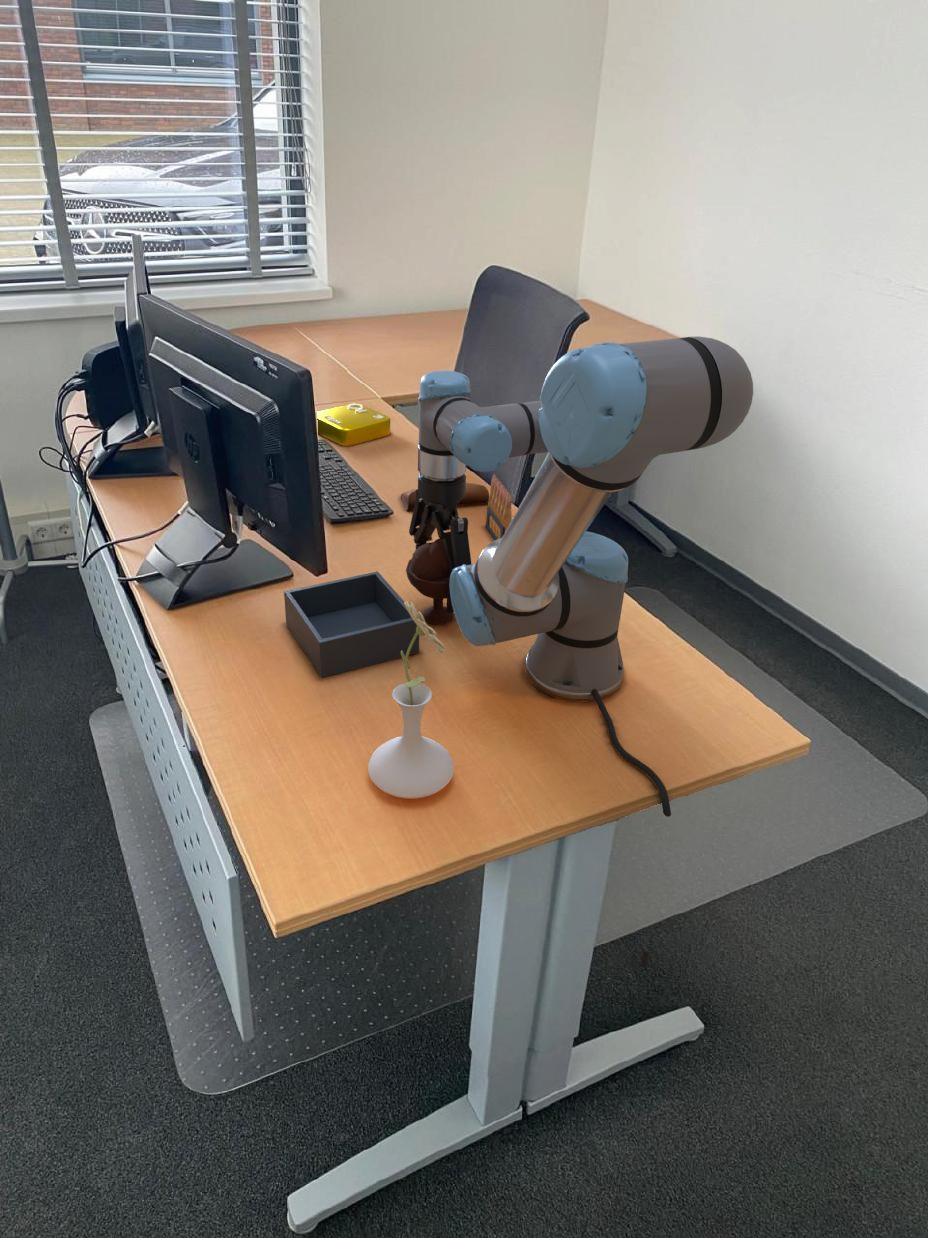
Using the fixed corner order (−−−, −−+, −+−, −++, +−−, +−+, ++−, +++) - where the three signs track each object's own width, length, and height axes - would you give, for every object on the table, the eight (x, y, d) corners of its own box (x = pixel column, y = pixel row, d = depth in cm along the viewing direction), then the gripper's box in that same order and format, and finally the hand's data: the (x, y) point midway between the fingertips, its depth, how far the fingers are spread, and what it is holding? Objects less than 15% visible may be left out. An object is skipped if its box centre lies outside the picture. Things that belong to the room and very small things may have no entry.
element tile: (309, 429, 227) (308, 411, 224) (357, 417, 236) (357, 399, 233) (345, 447, 218) (344, 428, 215) (393, 434, 227) (393, 416, 224)
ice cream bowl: (471, 602, 160) (475, 525, 152) (465, 636, 150) (469, 556, 142) (411, 597, 161) (412, 520, 153) (402, 630, 151) (402, 550, 143)
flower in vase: (456, 806, 117) (465, 644, 104) (367, 808, 116) (364, 645, 103) (450, 740, 128) (457, 587, 115) (368, 741, 127) (366, 587, 114)
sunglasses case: (477, 486, 201) (483, 468, 195) (485, 513, 198) (491, 495, 192) (398, 493, 196) (402, 475, 190) (404, 521, 193) (409, 503, 187)
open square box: (419, 652, 146) (419, 618, 142) (321, 678, 139) (319, 642, 136) (377, 603, 158) (377, 571, 155) (286, 624, 151) (283, 591, 148)
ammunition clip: (511, 550, 177) (515, 494, 171) (502, 551, 177) (506, 494, 170) (493, 526, 186) (497, 471, 179) (485, 527, 185) (488, 472, 179)
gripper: (500, 498, 134) (492, 623, 146) (430, 443, 152) (427, 559, 163) (455, 506, 131) (450, 633, 143) (389, 450, 149) (389, 567, 160)
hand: (438, 594), depth 153 cm, fingers closed on ice cream bowl, 11 cm apart
